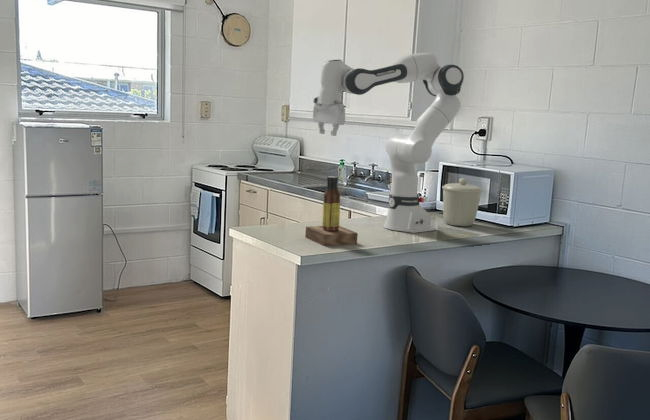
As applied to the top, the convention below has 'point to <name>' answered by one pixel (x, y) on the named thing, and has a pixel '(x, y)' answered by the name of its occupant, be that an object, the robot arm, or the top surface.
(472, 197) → the canister
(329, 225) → the sauce bottle
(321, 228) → the block
